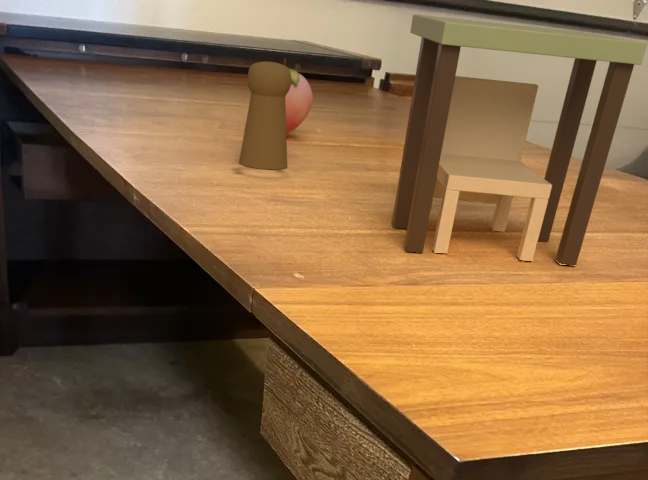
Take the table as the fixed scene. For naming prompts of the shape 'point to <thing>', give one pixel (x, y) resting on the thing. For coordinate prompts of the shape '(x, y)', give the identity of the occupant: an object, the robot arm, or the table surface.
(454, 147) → the chair
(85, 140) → the table surface
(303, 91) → the decorative fruit
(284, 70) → the cork
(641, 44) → the side table
